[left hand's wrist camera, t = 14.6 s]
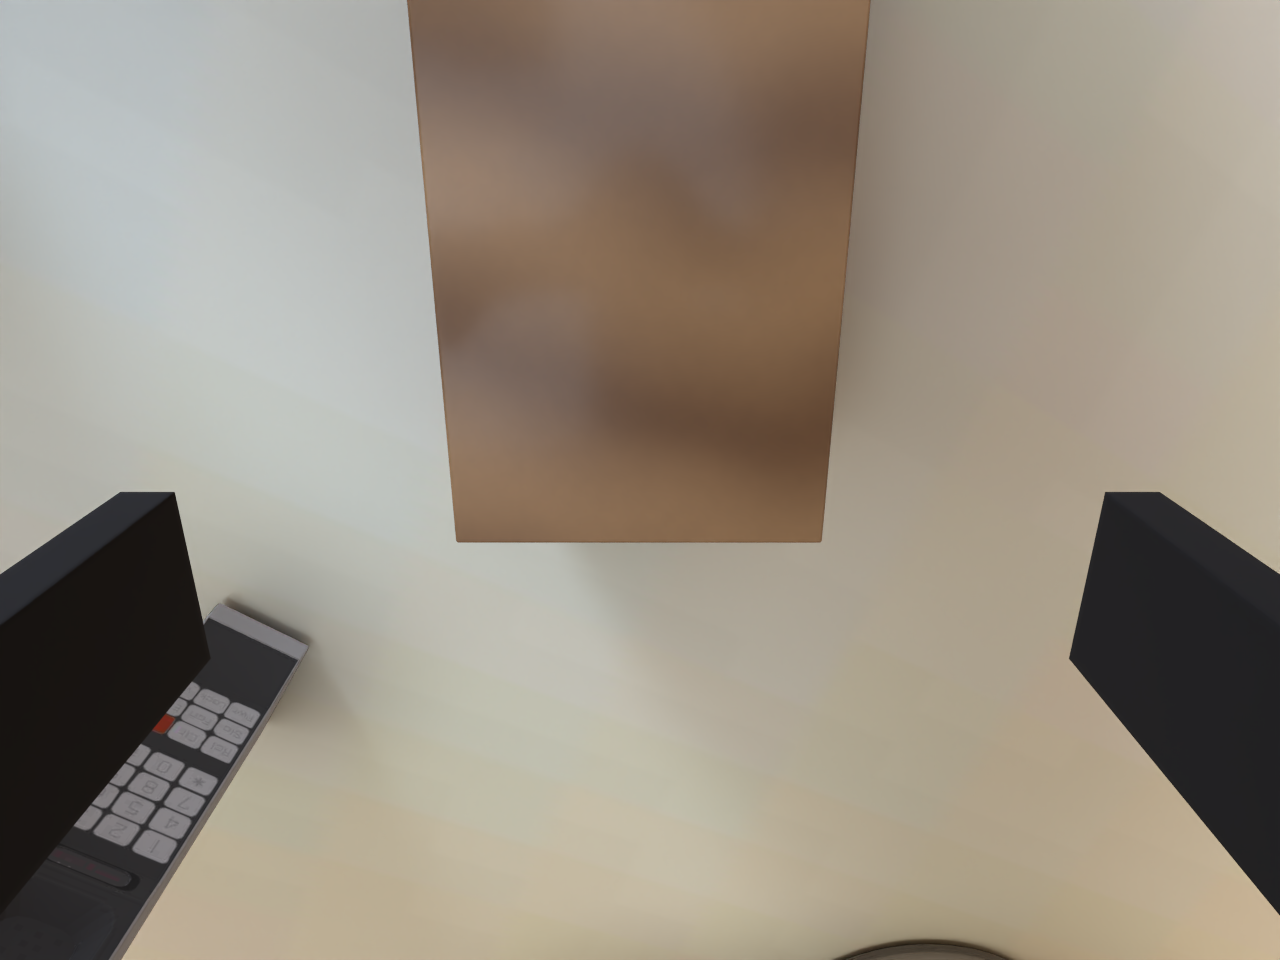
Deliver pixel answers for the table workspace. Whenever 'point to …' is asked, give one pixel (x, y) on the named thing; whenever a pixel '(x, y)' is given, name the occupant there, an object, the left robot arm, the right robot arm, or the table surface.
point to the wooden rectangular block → (638, 260)
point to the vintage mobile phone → (153, 803)
